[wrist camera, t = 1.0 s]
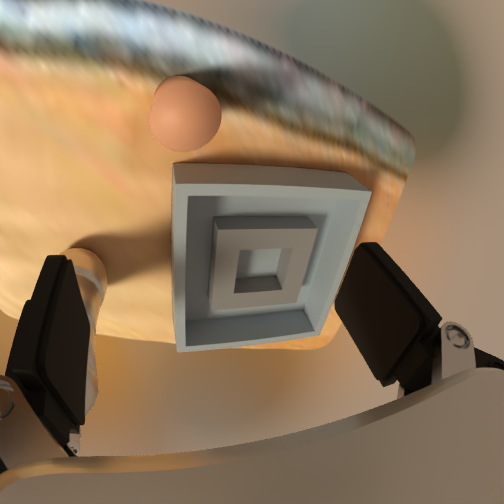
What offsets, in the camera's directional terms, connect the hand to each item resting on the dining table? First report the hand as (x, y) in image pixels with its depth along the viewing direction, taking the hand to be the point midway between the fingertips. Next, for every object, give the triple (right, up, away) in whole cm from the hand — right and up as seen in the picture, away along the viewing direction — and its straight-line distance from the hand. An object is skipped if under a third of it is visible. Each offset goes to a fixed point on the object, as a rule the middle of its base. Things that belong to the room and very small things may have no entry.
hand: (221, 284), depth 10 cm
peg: (-5, +14, +14) cm, 20 cm away
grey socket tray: (+1, +1, +25) cm, 25 cm away
